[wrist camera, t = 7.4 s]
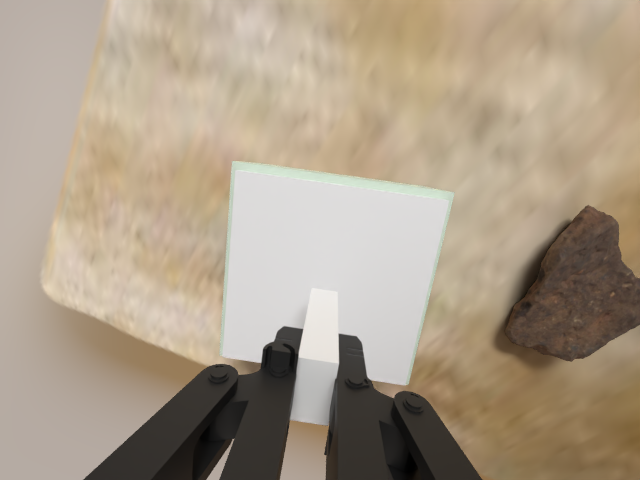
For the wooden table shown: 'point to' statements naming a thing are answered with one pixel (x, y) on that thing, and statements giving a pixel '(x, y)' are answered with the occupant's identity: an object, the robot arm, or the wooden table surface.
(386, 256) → the scale
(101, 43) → the wooden table surface
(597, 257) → the rock
